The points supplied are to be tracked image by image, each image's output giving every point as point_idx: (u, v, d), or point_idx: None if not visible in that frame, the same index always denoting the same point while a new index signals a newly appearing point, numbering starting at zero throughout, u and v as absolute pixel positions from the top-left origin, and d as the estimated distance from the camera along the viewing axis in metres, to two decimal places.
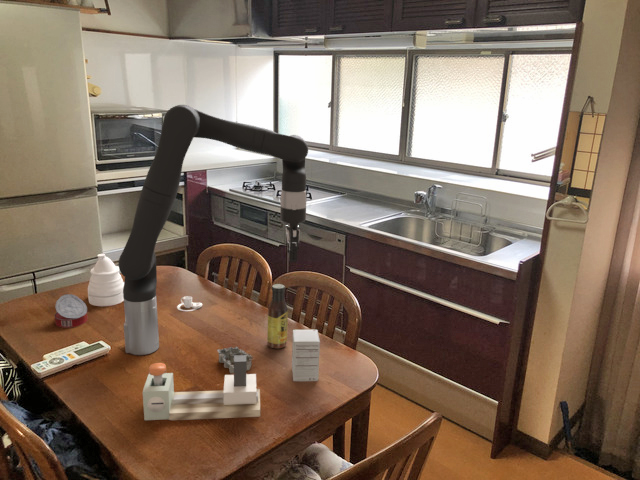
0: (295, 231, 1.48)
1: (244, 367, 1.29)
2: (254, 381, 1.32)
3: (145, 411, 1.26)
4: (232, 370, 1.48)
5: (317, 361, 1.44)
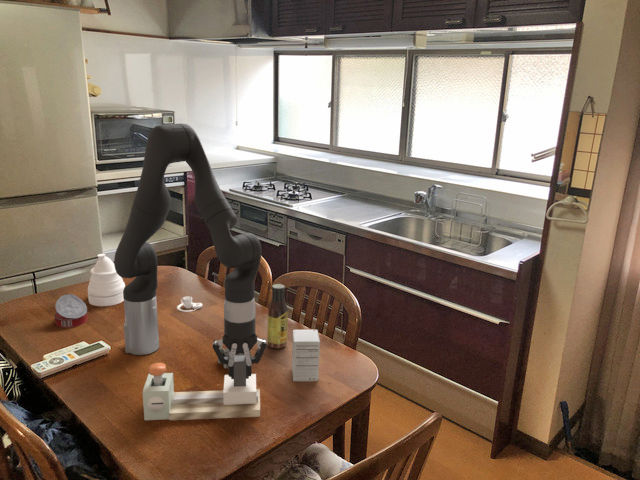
0: (266, 342, 1.29)
1: (244, 367, 1.29)
2: (254, 381, 1.32)
3: (145, 411, 1.26)
4: None
5: (317, 361, 1.44)
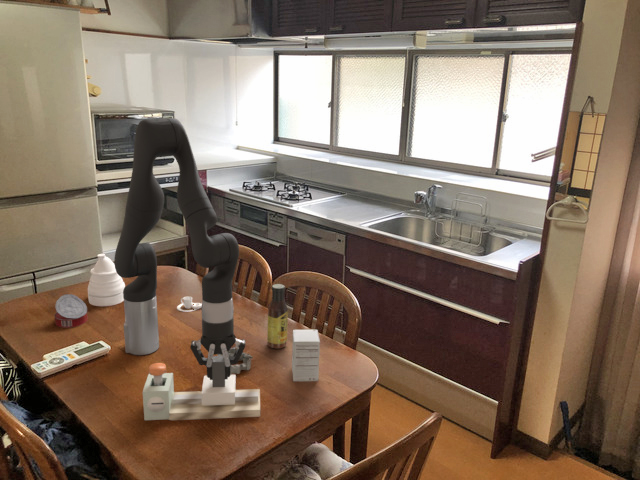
0: None
1: (222, 368, 1.28)
2: (233, 382, 1.32)
3: (145, 411, 1.26)
4: (232, 370, 1.48)
5: (317, 361, 1.44)
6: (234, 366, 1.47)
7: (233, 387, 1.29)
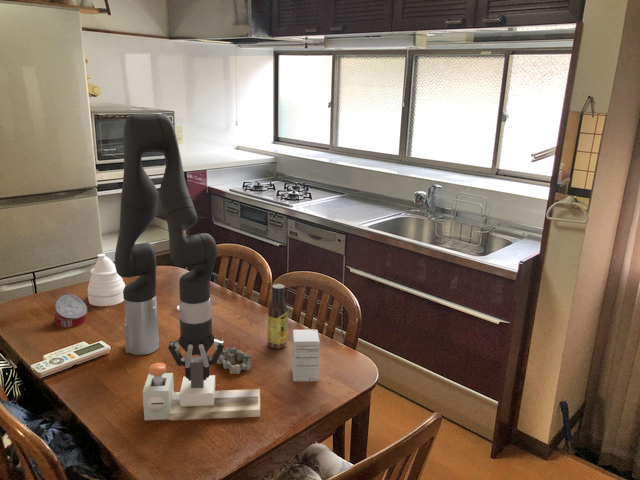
0: (223, 343, 1.28)
1: (201, 368, 1.27)
2: (212, 382, 1.31)
3: (145, 411, 1.26)
4: (232, 370, 1.48)
5: (317, 361, 1.44)
6: (234, 366, 1.47)
7: (212, 388, 1.29)
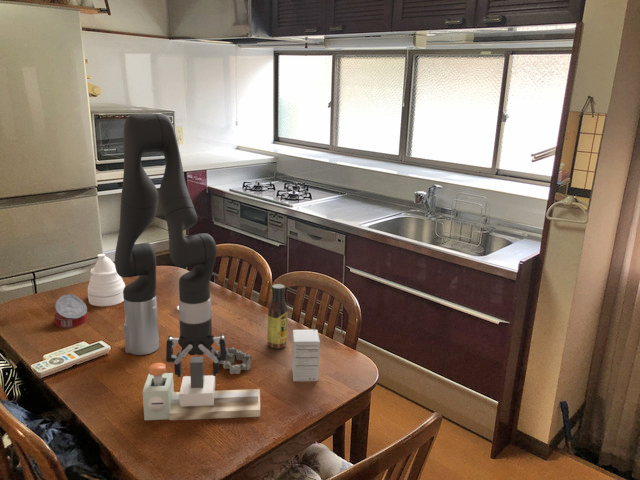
0: (224, 337, 1.27)
1: (201, 368, 1.27)
2: (212, 382, 1.31)
3: (145, 411, 1.26)
4: (232, 370, 1.48)
5: (317, 361, 1.44)
6: (234, 366, 1.47)
7: (212, 388, 1.29)
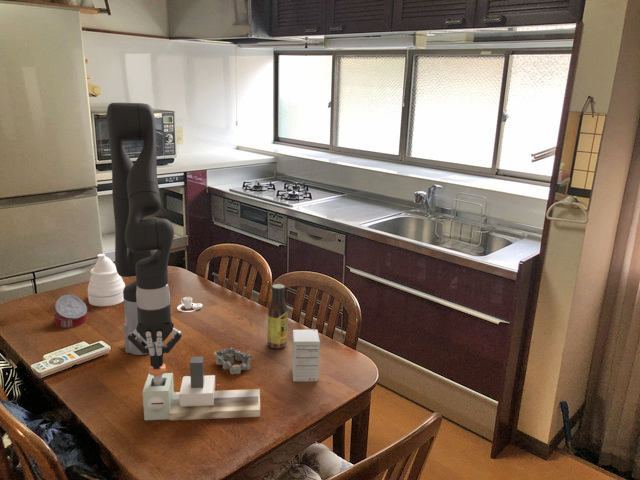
0: (181, 334, 1.26)
1: (201, 368, 1.27)
2: (212, 382, 1.31)
3: (145, 411, 1.26)
4: (233, 371, 1.48)
5: (317, 361, 1.44)
6: (235, 366, 1.47)
7: (212, 388, 1.29)
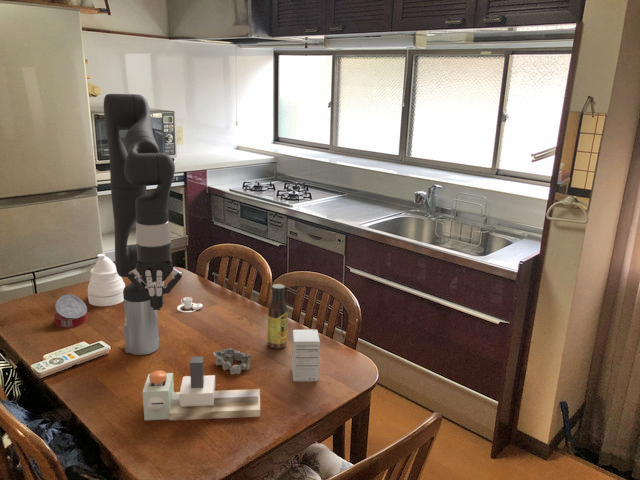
0: (182, 274, 1.23)
1: (201, 368, 1.27)
2: (212, 382, 1.31)
3: (145, 411, 1.26)
4: (233, 371, 1.48)
5: (317, 361, 1.44)
6: (235, 366, 1.47)
7: (212, 388, 1.29)
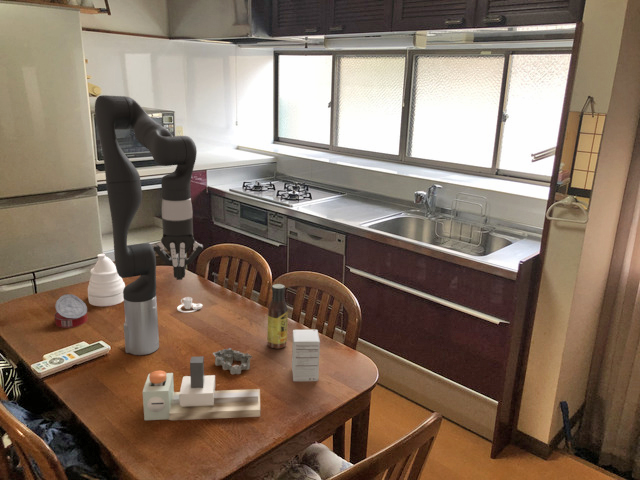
0: (202, 247, 1.36)
1: (201, 368, 1.27)
2: (212, 382, 1.31)
3: (145, 411, 1.26)
4: (233, 371, 1.48)
5: (317, 361, 1.44)
6: (235, 367, 1.47)
7: (212, 388, 1.29)
